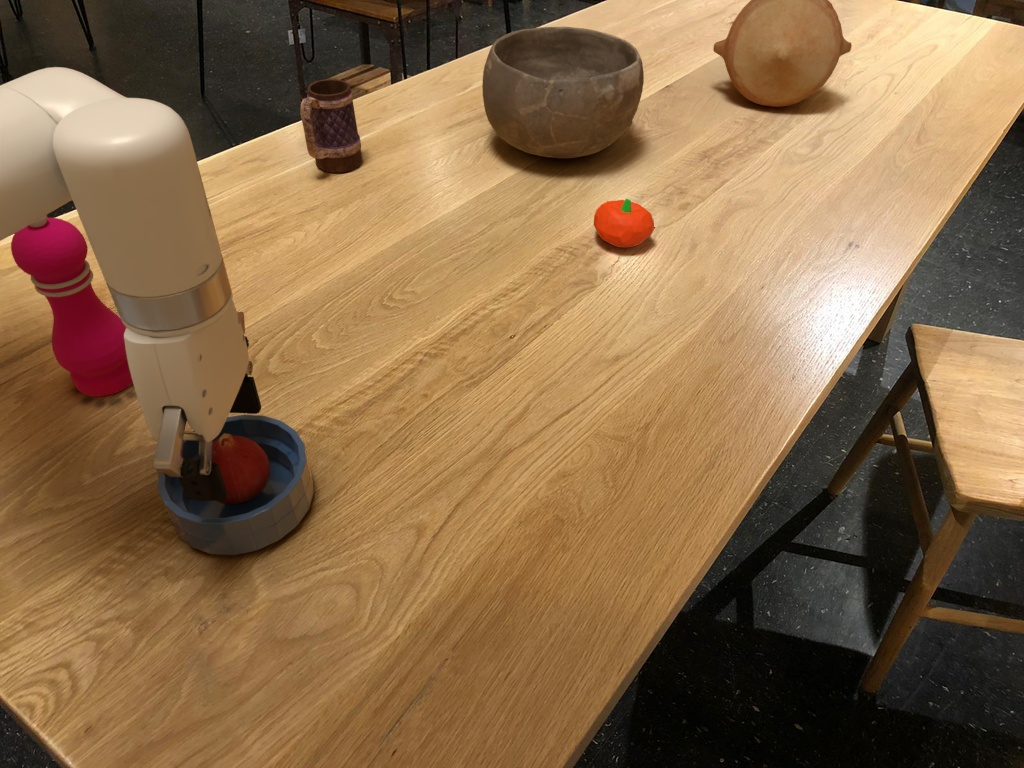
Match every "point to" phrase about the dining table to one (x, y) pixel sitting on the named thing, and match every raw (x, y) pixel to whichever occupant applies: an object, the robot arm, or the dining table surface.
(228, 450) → the onion
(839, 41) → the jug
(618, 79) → the bowl
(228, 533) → the blue bowl
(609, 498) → the dining table surface
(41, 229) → the pepper mill
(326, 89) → the mug
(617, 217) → the pumpkin
